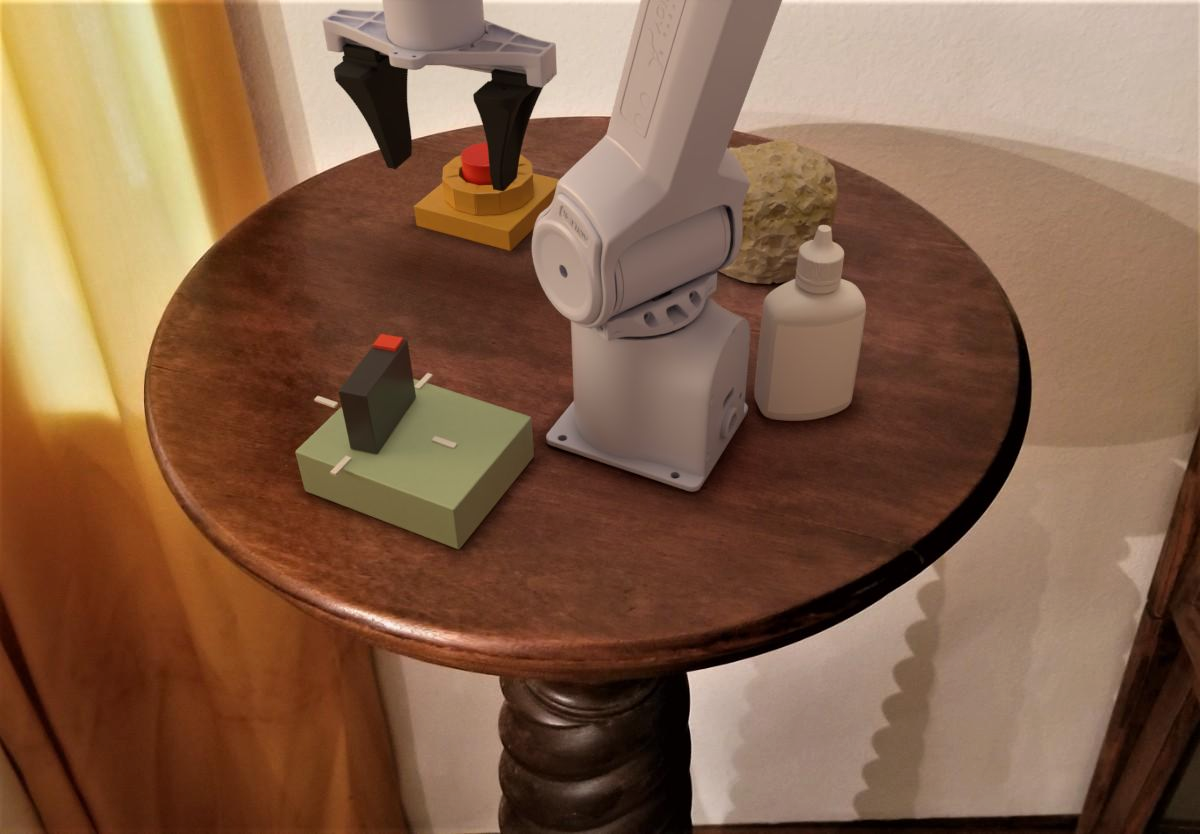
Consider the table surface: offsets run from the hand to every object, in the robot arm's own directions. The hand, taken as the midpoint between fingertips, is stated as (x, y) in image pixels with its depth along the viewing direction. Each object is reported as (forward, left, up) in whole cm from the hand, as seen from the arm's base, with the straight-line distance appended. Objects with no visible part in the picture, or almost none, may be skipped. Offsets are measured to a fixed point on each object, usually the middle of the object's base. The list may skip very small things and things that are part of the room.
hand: (451, 172), depth 73 cm
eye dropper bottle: (-25, +2, -8) cm, 27 cm away
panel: (-8, +17, -8) cm, 21 cm away
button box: (+3, -9, -8) cm, 12 cm away
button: (+3, -9, -5) cm, 10 cm away
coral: (-17, -13, -8) cm, 23 cm away
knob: (-6, +17, -5) cm, 19 cm away
